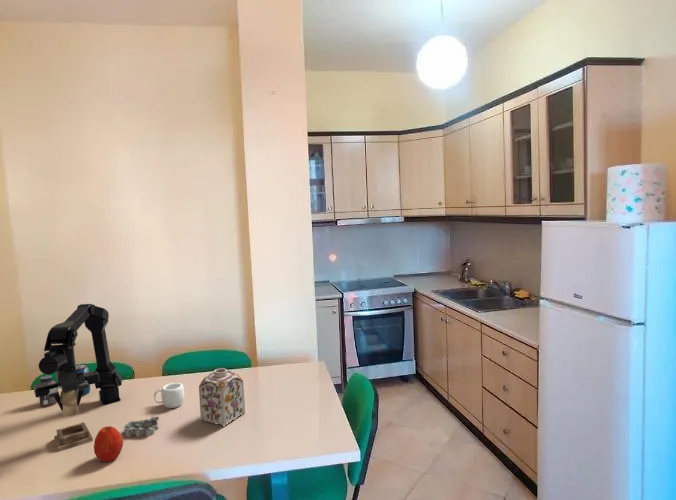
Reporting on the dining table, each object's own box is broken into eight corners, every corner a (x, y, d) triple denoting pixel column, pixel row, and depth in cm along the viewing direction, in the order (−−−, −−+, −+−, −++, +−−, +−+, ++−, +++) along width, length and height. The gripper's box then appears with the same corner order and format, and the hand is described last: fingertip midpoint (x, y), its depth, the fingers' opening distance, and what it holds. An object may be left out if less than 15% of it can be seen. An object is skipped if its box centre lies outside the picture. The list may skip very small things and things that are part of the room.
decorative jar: (200, 421, 168) (196, 373, 166) (222, 407, 178) (219, 362, 176) (225, 427, 163) (222, 378, 161) (246, 413, 173) (243, 367, 171)
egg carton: (161, 427, 165) (160, 416, 165) (151, 438, 158) (150, 426, 157) (132, 426, 166) (132, 415, 166) (121, 437, 159) (120, 426, 158)
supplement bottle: (49, 407, 184) (46, 380, 182) (36, 406, 185) (33, 379, 184) (61, 401, 190) (58, 374, 188) (48, 400, 191) (45, 373, 190)
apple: (128, 450, 150) (125, 419, 148) (117, 465, 141) (114, 432, 140) (102, 452, 149) (99, 420, 148) (89, 466, 141) (86, 433, 140)
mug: (188, 400, 186) (187, 381, 185) (180, 410, 178) (178, 390, 177) (159, 400, 187) (157, 381, 186) (149, 410, 178) (148, 390, 177)
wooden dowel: (77, 409, 160) (74, 386, 159) (79, 413, 156) (77, 390, 155) (62, 413, 157) (59, 390, 156) (64, 417, 153) (61, 394, 153)
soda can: (94, 391, 199) (91, 364, 197) (81, 398, 192) (78, 370, 191) (81, 389, 200) (78, 363, 199) (68, 396, 194) (65, 369, 192)
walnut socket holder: (87, 429, 165) (86, 420, 164) (92, 440, 157) (91, 431, 156) (54, 439, 159) (53, 429, 158) (58, 451, 151) (57, 441, 150)
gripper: (34, 377, 143) (40, 425, 144) (101, 362, 154) (105, 407, 156) (31, 367, 151) (36, 413, 153) (94, 354, 163) (98, 396, 164)
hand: (70, 407), depth 156 cm, fingers closed on wooden dowel, 4 cm apart
